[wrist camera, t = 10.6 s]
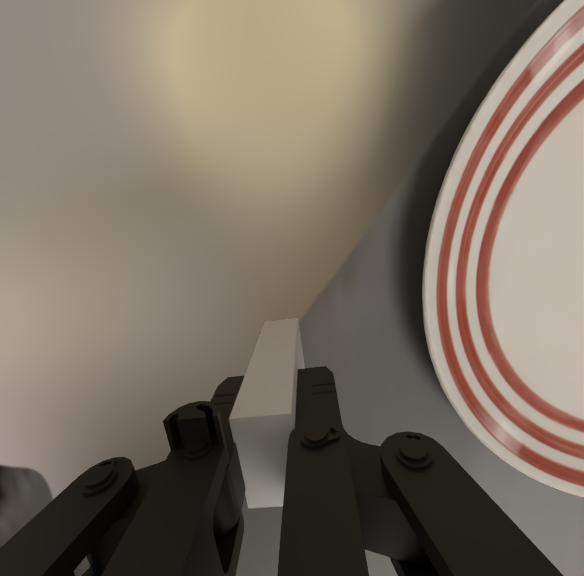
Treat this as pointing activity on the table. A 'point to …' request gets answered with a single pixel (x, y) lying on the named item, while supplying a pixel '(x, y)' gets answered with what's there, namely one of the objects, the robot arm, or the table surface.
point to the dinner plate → (517, 261)
